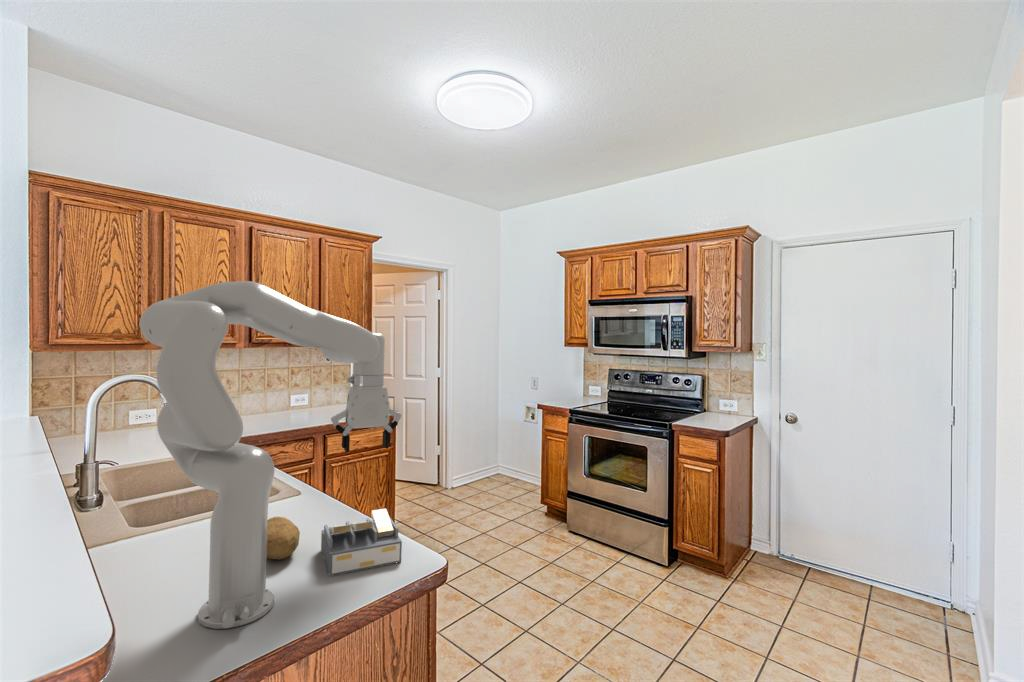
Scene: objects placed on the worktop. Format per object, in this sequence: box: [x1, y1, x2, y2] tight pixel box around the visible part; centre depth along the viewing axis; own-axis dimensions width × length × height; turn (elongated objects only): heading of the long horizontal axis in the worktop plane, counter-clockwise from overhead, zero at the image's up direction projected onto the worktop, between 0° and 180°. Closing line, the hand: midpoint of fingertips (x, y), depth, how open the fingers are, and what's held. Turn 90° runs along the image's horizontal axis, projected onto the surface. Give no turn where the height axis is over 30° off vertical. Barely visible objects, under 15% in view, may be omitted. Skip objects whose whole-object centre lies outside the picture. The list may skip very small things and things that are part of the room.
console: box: [320, 515, 403, 577], centre depth 115 cm, size 14×16×7 cm
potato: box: [266, 516, 301, 561], centre depth 114 cm, size 10×14×8 cm
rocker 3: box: [370, 508, 394, 537], centre depth 118 cm, size 8×4×1 cm, turn 28°
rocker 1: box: [328, 524, 351, 534], centre depth 113 cm, size 8×4×1 cm, turn 29°
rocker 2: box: [349, 520, 373, 530], centre depth 115 cm, size 8×4×1 cm, turn 29°
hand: (366, 448), depth 121 cm, fingers open, 9 cm apart
